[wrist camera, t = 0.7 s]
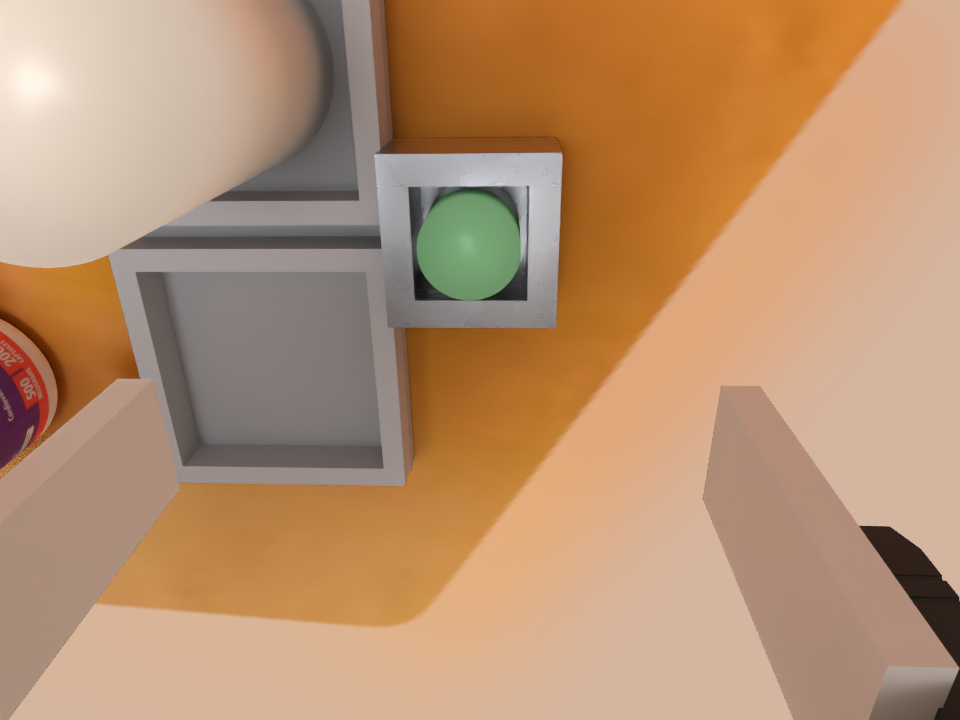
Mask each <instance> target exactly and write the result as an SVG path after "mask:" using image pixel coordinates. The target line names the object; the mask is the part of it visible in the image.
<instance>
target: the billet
mask: <svg viewBox="0 0 960 720" xmlns="http://www.w3.org/2000/svg"><path fill="white" fill-rule="evenodd" d="M333 86H334V64H333V57H332V51H331V47H330V43H329V40H328V36H327V33H326V31H325V29H324V26H323V24H322V21H321V19H320V18H319V16H318V14H317V12H316V10H315V8H314V7H313V5H312V4H311V2H310V1H309V0H0V262H3V263H8V264H13V265H19V266H24V267H37V268H57V267H69V266H74V265H79V264H84V263H88V262H91V261H94V260H96V259H99V258H102V257H104V256H107V255H109V254H111V253H113V252H114V251H116V250H118V249H120V248H122V247H124V246H126V245H127V244H129V243H131V242H133V241H135V240H137V239H139V238H141V237H142V236H144V235H146V234H148V233H150V232H152V231H154V230H156V229H157V228H159V227H161V226H163V225H165V224H167V223H169V222H170V221H172V220H174V219H176V218H178V217H180V216H182V215H184V214H185V213H187V212H189V211H191V210H193V209H195V208H197V207H199V206H200V205H202V204H204V203H206V202H208V201H210V200H212V199H213V198H215V197H217V196H219V195H221V194H223V193H225V192H227V191H228V190H230V189H232V188H234V187H236V186H238V185H240V184H242V183H243V182H245V181H247V180H249V179H251V178H253V177H255V176H256V175H258V174H260V173H262V172H264V171H266V170H268V169H270V168H271V167H273V166H275V165H277V164H279V163H281V162H283V161H285V160H286V159H288V158H290V157H292V156H293V155H295V154H297V153H298V152H299V151H300V150H302V149H303V148H304V147H305V146H306V145H307V144H308V143H309V142H310V141H311V140H312V139H313V138H314V137H315V135H316V134H317V132H318V131H319V129H320V128H321V126H322V124H323V122H324V120H325V118H326V116H327V113H328V110H329V107H330V104H331V99H332V94H333Z"/></svg>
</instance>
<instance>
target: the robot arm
mask: <svg viewBox="0 0 960 720" xmlns="http://www.w3.org/2000/svg"><path fill="white" fill-rule="evenodd" d="M179 489H180V485H179V481H178V477H177V473H176V469H175V464H174V460H173V456H172V452H171V448H170V444H169V440H168V436H167V432H166V428H165V424H164V420H163V416H162V412H161V408H160V404H159V400H158V396H157V392H156V387H155V383H154V379H117V380H115V381H114V382H113V383H112V384H111V385H110V386H108V387H107V388H106V389H105V390H104V391H103V392H101V393H100V394H99V395H98V396H97V397H96V398H94V399H93V400H92V401H91V402H90V403H89V404H87V405H86V406H85V407H84V408H83V409H82V410H80V411H79V412H78V413H77V414H76V415H75V416H73V417H72V418H71V419H70V420H69V421H68V422H66V423H65V424H64V425H63V426H62V427H61V428H59V429H58V430H57V431H56V432H55V433H54V434H52V435H51V436H50V437H49V438H48V439H47V440H45V441H44V442H43V443H42V444H41V445H40V446H38V447H37V448H36V449H35V450H34V451H33V452H31V453H30V454H29V455H28V456H27V457H26V458H24V459H23V460H22V461H21V462H20V463H19V464H17V465H16V466H15V467H14V468H13V469H12V470H10V471H9V472H8V473H7V474H6V475H4V476H3V477H2V478H1V479H0V720H9V718H10V717H11V716H12V714H13V713H14V711H15V710H16V709H17V707H18V706H19V705H20V703H21V702H22V701H23V699H24V698H25V697H26V695H27V694H28V693H29V691H30V690H31V689H32V687H33V686H34V685H35V683H36V682H37V680H38V679H39V678H40V677H41V675H42V674H43V672H44V671H45V669H46V668H47V667H48V666H49V664H50V663H51V662H52V660H53V659H54V658H55V656H56V655H57V654H58V652H59V651H60V649H61V648H62V647H63V646H64V644H65V643H66V642H67V640H68V639H69V637H70V636H71V635H72V633H73V632H74V631H75V629H76V628H77V627H78V625H79V624H80V623H81V621H82V620H83V619H84V617H85V616H86V615H87V613H88V612H89V611H90V609H91V608H92V607H93V605H94V604H95V602H96V601H97V600H98V598H99V597H100V596H101V594H102V593H103V592H104V590H105V589H106V588H107V586H108V585H109V584H110V582H111V581H112V580H113V578H114V577H115V576H116V574H117V573H118V572H119V570H120V569H121V567H122V566H123V565H124V563H125V562H126V561H127V559H128V558H129V557H130V555H131V554H132V553H133V551H134V550H135V549H136V547H137V546H138V545H139V543H140V542H141V541H142V539H143V538H144V537H145V535H146V534H147V532H148V531H149V530H150V528H151V527H152V526H153V524H154V523H155V522H156V520H157V519H158V518H159V516H160V515H161V514H162V512H163V511H164V510H165V508H166V507H167V506H168V504H169V503H170V502H171V500H172V499H173V497H174V496H175V495H176V493H177V492H178V491H179ZM703 500H704V503H705V505H706V508H707V510H708V512H709V515H710V517H711V520H712V522H713V525H714V527H715V530H716V532H717V534H718V537H719V539H720V542H721V544H722V546H723V549H724V551H725V554H726V556H727V559H728V561H729V564H730V566H731V569H732V571H733V573H734V576H735V578H736V581H737V583H738V586H739V588H740V591H741V593H742V595H743V598H744V600H745V603H746V605H747V608H748V610H749V612H750V615H751V617H752V620H753V622H754V625H755V627H756V630H757V632H758V634H759V637H760V639H761V642H762V644H763V647H764V649H765V651H766V654H767V656H768V659H769V661H770V663H771V666H772V669H773V671H774V673H775V676H776V678H777V681H778V683H779V686H780V688H781V690H782V693H783V695H784V698H785V700H786V703H787V705H788V708H789V710H790V712H791V715H792V717H793V720H960V601H959V596H958V595H957V594H956V593H955V591H954V590H953V589H952V588H951V586H950V585H949V584H948V583H947V581H943V580H942V575H941V574H940V573H939V571H938V570H937V569H936V568H935V566H934V565H933V564H932V562H931V561H930V560H929V559H928V557H927V556H926V555H925V554H924V552H923V551H922V550H921V549H920V548H919V547H917V546H916V545H914V544H913V543H912V542H910V541H909V540H908V539H906V538H905V537H903V536H902V535H901V534H899V533H898V532H896V531H895V530H894V529H892V528H891V527H885V526H859V525H858V524H857V523H856V521H855V520H854V518H853V517H852V516H851V514H850V513H849V511H848V510H847V509H846V507H845V506H844V504H843V503H842V501H841V500H840V499H839V497H838V496H837V495H836V493H835V492H834V490H833V489H832V487H831V486H830V484H829V483H828V482H827V480H826V479H825V477H824V476H823V475H822V473H821V472H820V470H819V469H818V468H817V466H816V465H815V463H814V462H813V460H812V459H811V458H810V456H809V455H808V454H807V452H806V451H805V449H804V448H803V446H802V445H801V444H800V442H799V441H798V439H797V438H796V436H795V435H794V434H793V432H792V431H791V429H790V428H789V427H788V425H787V424H786V422H785V421H784V419H783V418H782V417H781V415H780V414H779V412H778V411H777V410H776V408H775V407H774V405H773V404H772V403H771V401H770V400H769V398H768V397H767V396H766V394H765V393H764V391H763V390H762V389H761V387H760V386H758V387H757V386H721V389H720V396H719V402H718V408H717V414H716V420H715V426H714V432H713V438H712V445H711V452H710V457H709V463H708V469H707V476H706V482H705V489H704V494H703Z"/></svg>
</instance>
